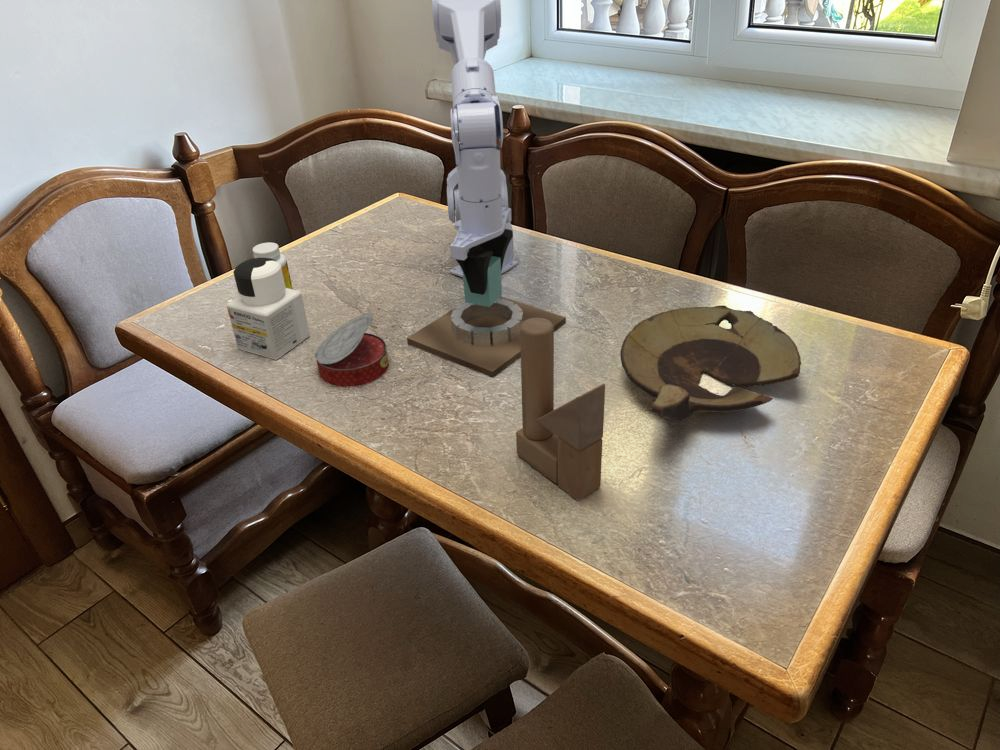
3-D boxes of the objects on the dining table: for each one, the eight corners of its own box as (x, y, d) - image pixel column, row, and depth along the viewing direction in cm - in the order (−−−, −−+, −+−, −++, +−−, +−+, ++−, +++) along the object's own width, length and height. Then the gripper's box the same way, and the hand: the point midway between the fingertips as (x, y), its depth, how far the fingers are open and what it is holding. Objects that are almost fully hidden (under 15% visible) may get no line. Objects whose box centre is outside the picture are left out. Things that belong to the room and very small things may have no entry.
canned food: (366, 414, 108) (336, 379, 99) (317, 385, 112) (284, 349, 104) (414, 351, 111) (389, 313, 103) (364, 326, 116) (336, 287, 107)
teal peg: (477, 290, 115) (475, 253, 111) (501, 294, 113) (500, 257, 110) (464, 302, 112) (462, 264, 108) (489, 307, 110) (487, 268, 107)
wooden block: (578, 502, 85) (581, 364, 75) (515, 455, 92) (511, 323, 82) (602, 487, 86) (608, 351, 76) (539, 442, 94) (537, 312, 84)
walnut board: (483, 295, 126) (483, 290, 125) (565, 323, 117) (565, 317, 117) (407, 343, 114) (406, 337, 113) (493, 377, 106) (492, 371, 105)
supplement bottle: (301, 305, 125) (289, 247, 119) (270, 317, 122) (256, 258, 117) (286, 294, 129) (273, 237, 123) (255, 305, 126) (240, 247, 120)
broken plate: (831, 381, 102) (843, 331, 98) (680, 480, 87) (687, 426, 83) (698, 319, 117) (703, 273, 113) (549, 394, 102) (549, 345, 98)
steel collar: (481, 304, 121) (481, 291, 120) (536, 322, 116) (536, 309, 114) (437, 332, 114) (436, 319, 113) (493, 353, 109) (493, 340, 108)
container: (236, 349, 114) (215, 270, 107) (272, 325, 120) (254, 248, 113) (276, 361, 111) (257, 280, 104) (311, 336, 117) (295, 257, 110)
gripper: (478, 174, 110) (483, 261, 118) (427, 210, 100) (435, 302, 107) (523, 180, 108) (525, 268, 115) (475, 217, 97) (480, 312, 105)
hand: (485, 285), depth 111 cm, fingers closed on teal peg, 4 cm apart
